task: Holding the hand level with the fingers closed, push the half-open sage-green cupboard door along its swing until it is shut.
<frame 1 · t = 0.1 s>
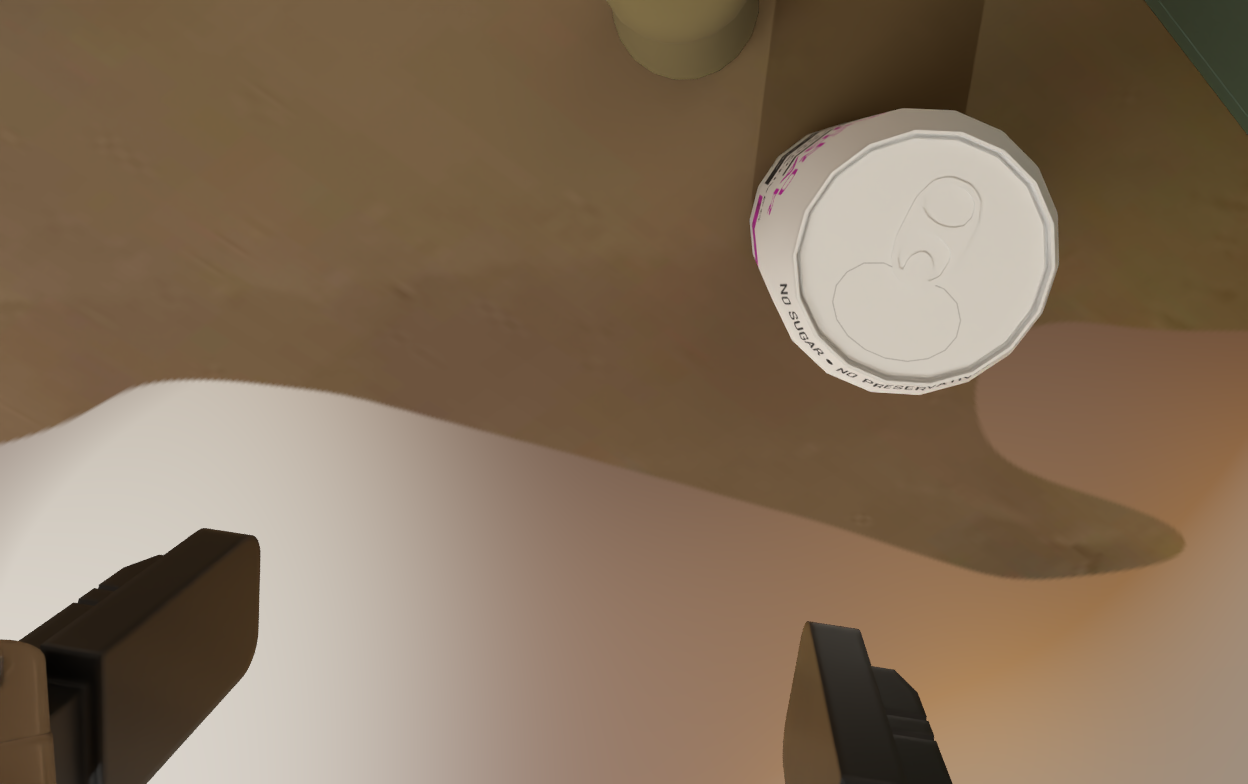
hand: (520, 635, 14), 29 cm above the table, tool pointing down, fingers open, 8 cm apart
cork: (685, 3, 39), on the table
supplement can: (845, 224, 40), on the table
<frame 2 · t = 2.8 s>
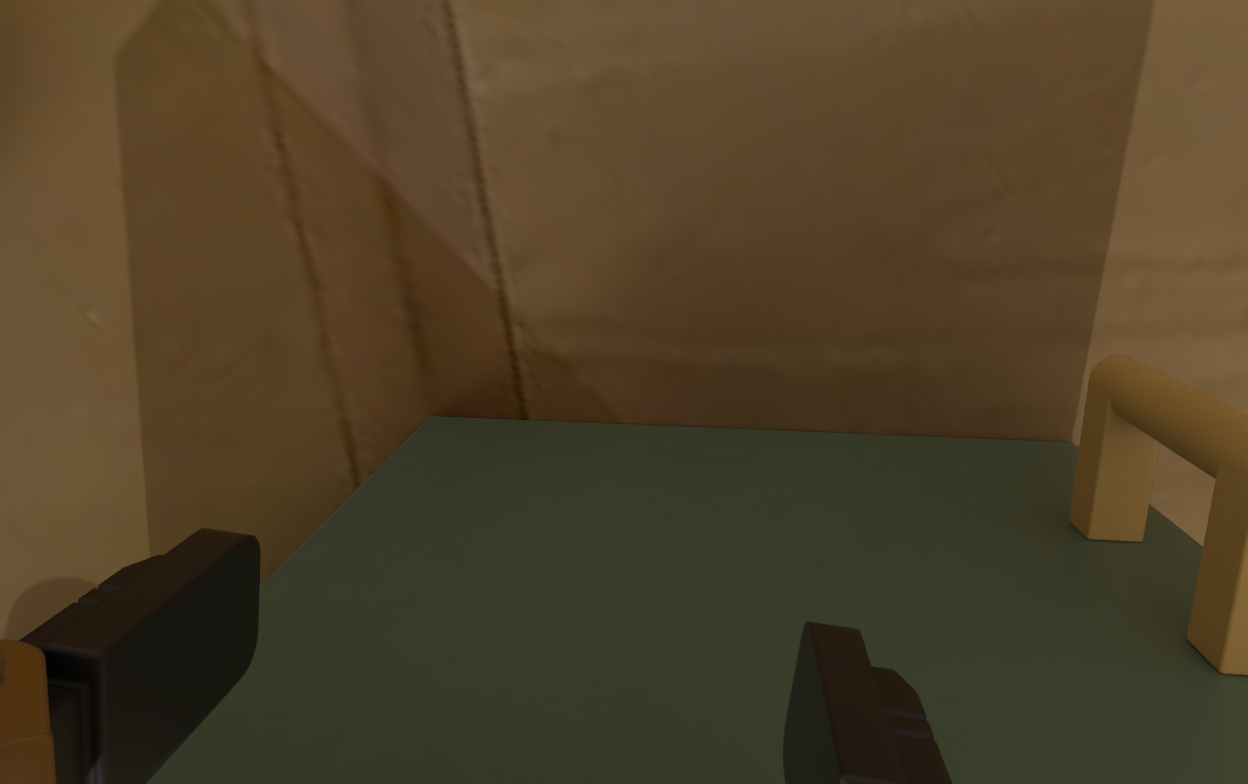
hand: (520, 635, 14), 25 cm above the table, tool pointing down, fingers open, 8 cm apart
door: (765, 476, 27), point 12 cm above the table, hinge at 45.0°
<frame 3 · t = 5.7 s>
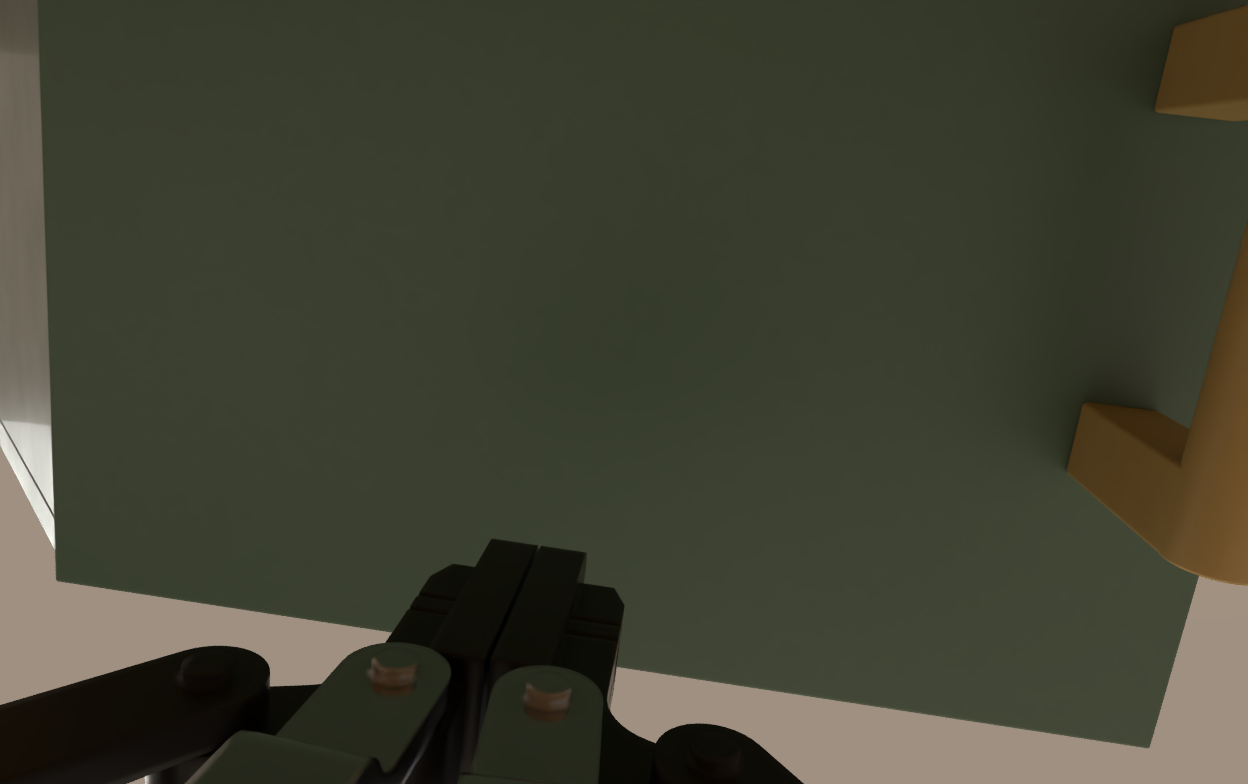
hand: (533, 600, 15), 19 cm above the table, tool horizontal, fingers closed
door: (636, 141, 17), point 12 cm above the table, hinge at 45.0°
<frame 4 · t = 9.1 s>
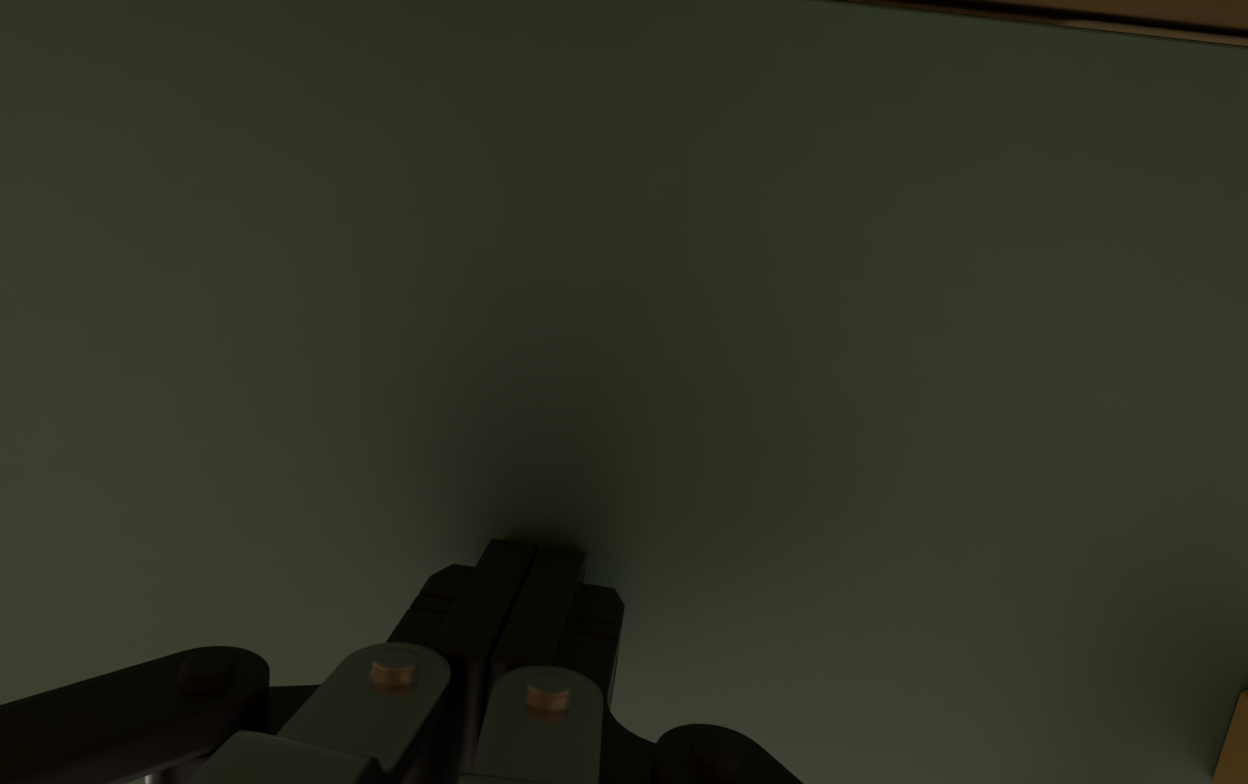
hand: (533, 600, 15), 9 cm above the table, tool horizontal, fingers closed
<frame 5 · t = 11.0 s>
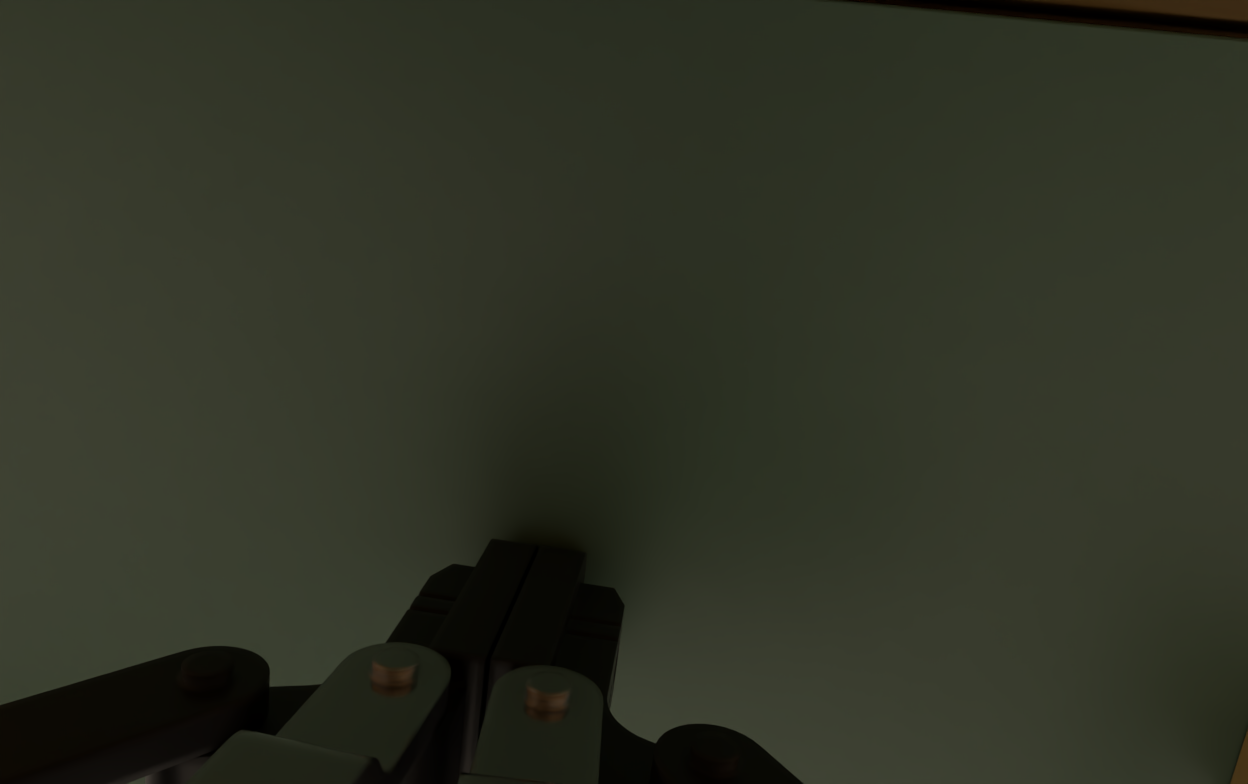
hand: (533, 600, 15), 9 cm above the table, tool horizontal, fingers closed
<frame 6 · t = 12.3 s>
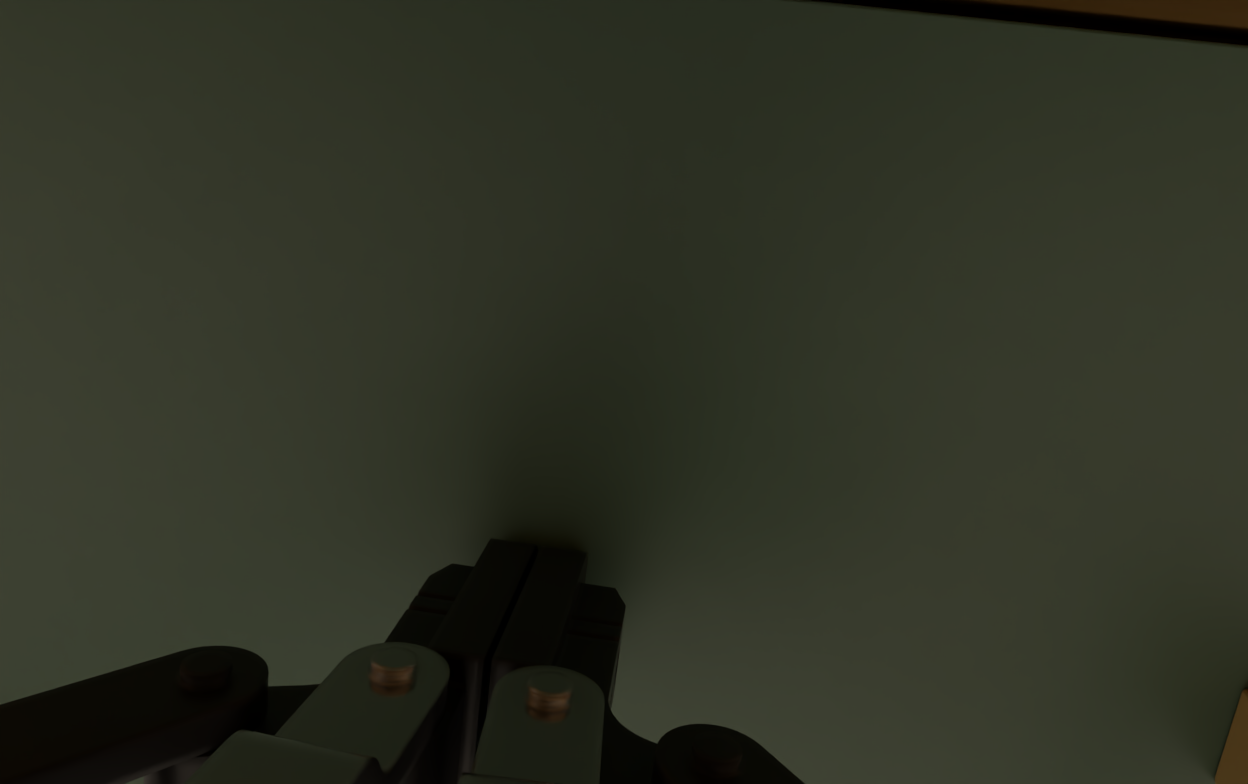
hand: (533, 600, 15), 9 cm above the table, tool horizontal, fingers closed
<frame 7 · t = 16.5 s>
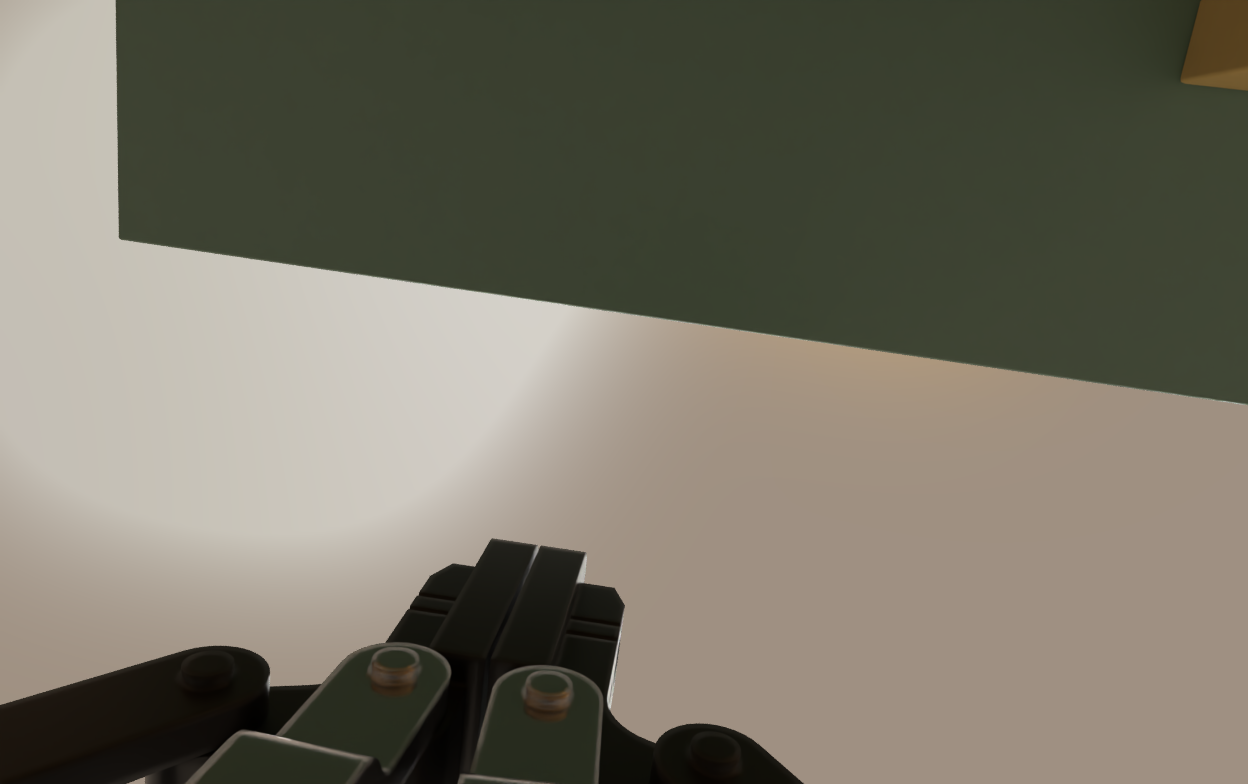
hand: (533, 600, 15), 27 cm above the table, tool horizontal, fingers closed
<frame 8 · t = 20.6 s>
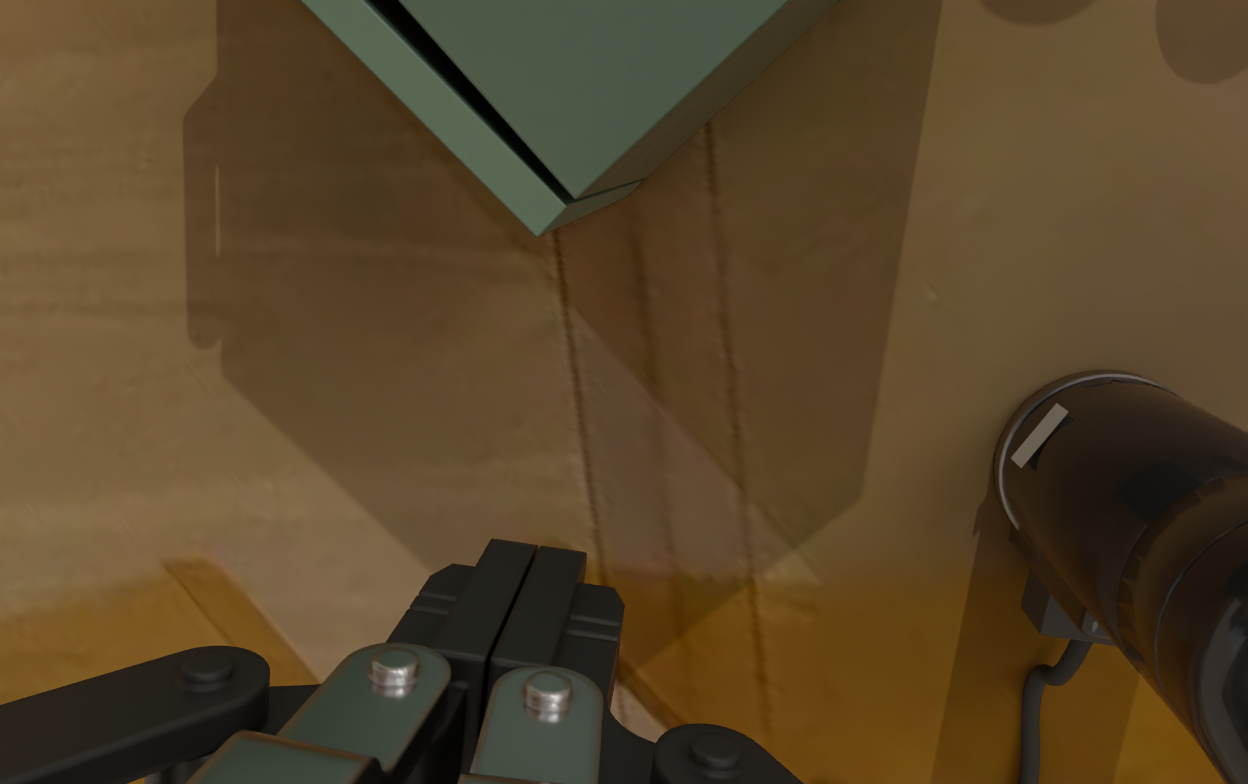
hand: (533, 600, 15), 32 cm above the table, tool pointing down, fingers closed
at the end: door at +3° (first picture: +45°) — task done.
